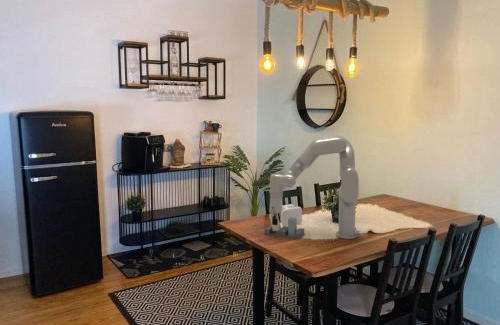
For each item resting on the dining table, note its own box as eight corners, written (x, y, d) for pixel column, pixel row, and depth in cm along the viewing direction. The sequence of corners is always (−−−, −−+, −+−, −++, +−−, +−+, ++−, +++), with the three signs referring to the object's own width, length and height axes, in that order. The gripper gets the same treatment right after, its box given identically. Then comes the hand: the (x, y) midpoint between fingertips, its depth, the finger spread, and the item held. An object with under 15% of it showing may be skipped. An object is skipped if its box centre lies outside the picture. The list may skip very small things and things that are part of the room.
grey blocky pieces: (305, 235, 234) (305, 228, 234) (300, 240, 225) (300, 234, 225) (270, 230, 244) (270, 224, 244) (263, 235, 236) (263, 228, 235)
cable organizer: (282, 227, 249) (282, 210, 247) (274, 223, 258) (274, 206, 257) (302, 224, 256) (302, 206, 254) (293, 220, 265) (293, 203, 263)
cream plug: (275, 229, 239) (271, 213, 239) (281, 228, 237) (277, 212, 237) (272, 230, 236) (268, 215, 235) (278, 230, 234) (274, 214, 233)
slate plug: (296, 234, 234) (296, 218, 232) (294, 236, 230) (294, 219, 228) (290, 233, 235) (290, 217, 234) (288, 235, 232) (288, 219, 230)
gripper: (275, 190, 242) (275, 219, 245) (265, 196, 228) (265, 227, 230) (287, 191, 239) (287, 220, 242) (277, 198, 224) (276, 228, 227)
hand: (276, 223), depth 236 cm, fingers closed on cream plug, 4 cm apart
